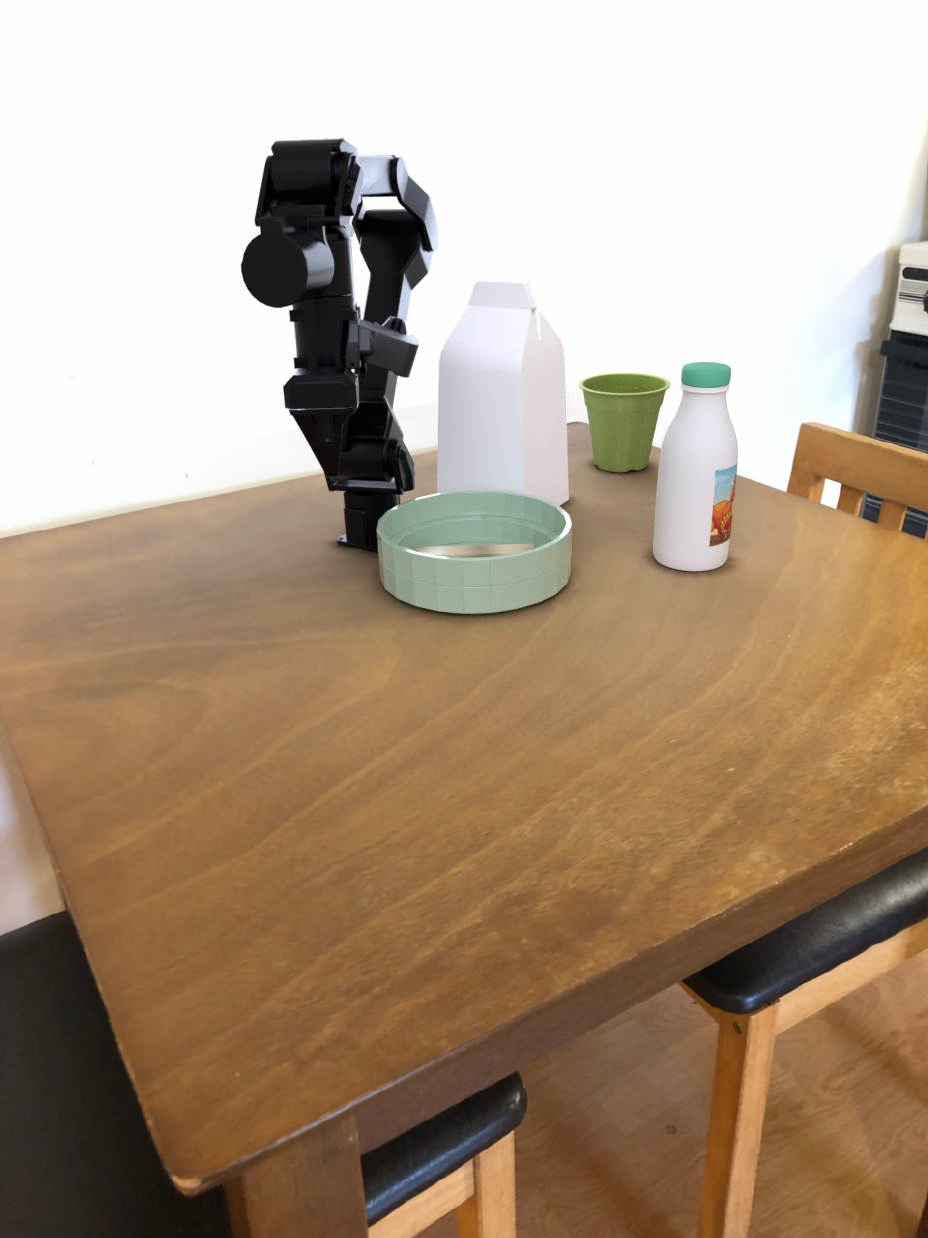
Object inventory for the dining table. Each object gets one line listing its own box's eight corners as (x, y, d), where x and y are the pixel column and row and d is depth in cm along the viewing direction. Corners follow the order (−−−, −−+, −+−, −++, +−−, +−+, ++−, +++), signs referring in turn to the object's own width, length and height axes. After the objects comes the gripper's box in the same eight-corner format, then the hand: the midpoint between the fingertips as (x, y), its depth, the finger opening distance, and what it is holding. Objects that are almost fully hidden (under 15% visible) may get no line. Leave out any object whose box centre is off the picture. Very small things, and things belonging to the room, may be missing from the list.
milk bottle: (684, 579, 93) (701, 377, 84) (637, 553, 99) (649, 363, 90) (743, 563, 96) (766, 367, 87) (694, 539, 103) (711, 354, 94)
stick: (416, 577, 94) (415, 555, 93) (417, 568, 96) (415, 546, 95) (535, 574, 94) (535, 552, 93) (533, 564, 96) (533, 543, 95)
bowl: (442, 530, 107) (440, 480, 104) (598, 559, 98) (601, 505, 96) (343, 595, 92) (338, 538, 89) (517, 635, 83) (517, 574, 81)
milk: (436, 512, 112) (427, 284, 101) (485, 484, 121) (481, 272, 109) (524, 529, 107) (525, 290, 95) (568, 499, 115) (574, 276, 103)
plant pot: (575, 452, 133) (578, 372, 128) (660, 453, 131) (666, 372, 126) (576, 478, 122) (579, 392, 117) (668, 479, 121) (675, 392, 116)
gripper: (410, 304, 76) (418, 488, 83) (412, 281, 93) (419, 436, 100) (274, 307, 76) (292, 492, 82) (300, 284, 93) (314, 439, 99)
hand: (336, 462), depth 91 cm, fingers open, 9 cm apart
